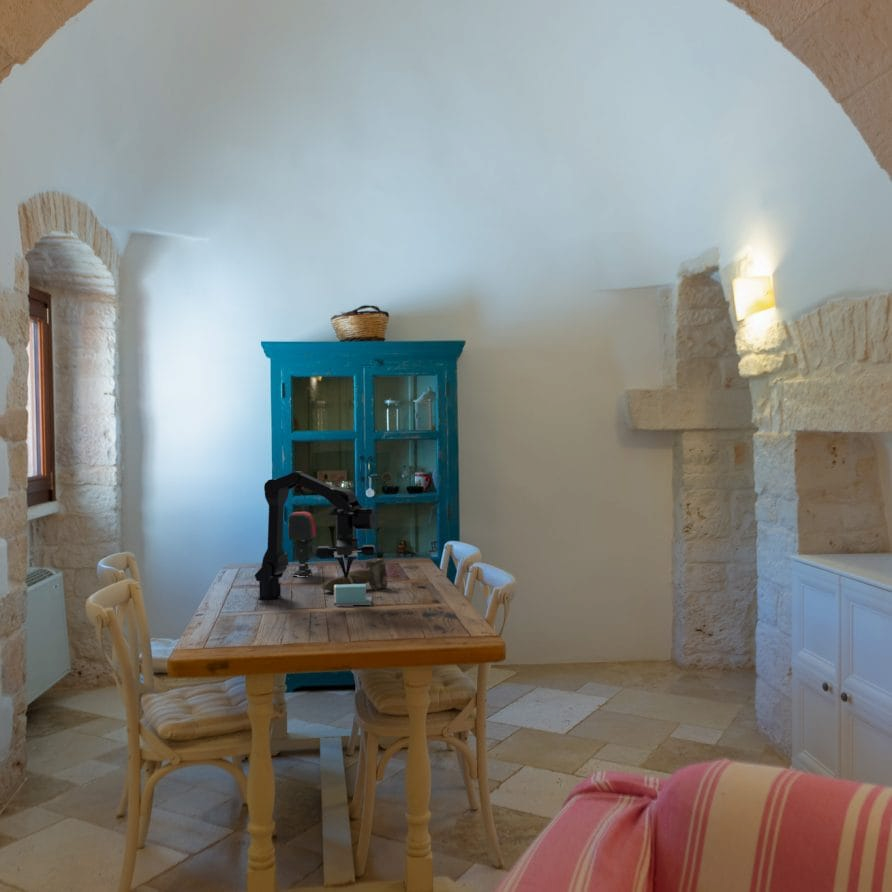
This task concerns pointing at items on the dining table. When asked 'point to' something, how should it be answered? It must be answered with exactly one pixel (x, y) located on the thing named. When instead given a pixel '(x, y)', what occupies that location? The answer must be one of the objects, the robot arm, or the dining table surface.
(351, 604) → the felt mat
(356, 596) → the teal block
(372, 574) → the sculpture
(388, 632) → the dining table surface
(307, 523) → the toy robot
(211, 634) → the dining table surface
